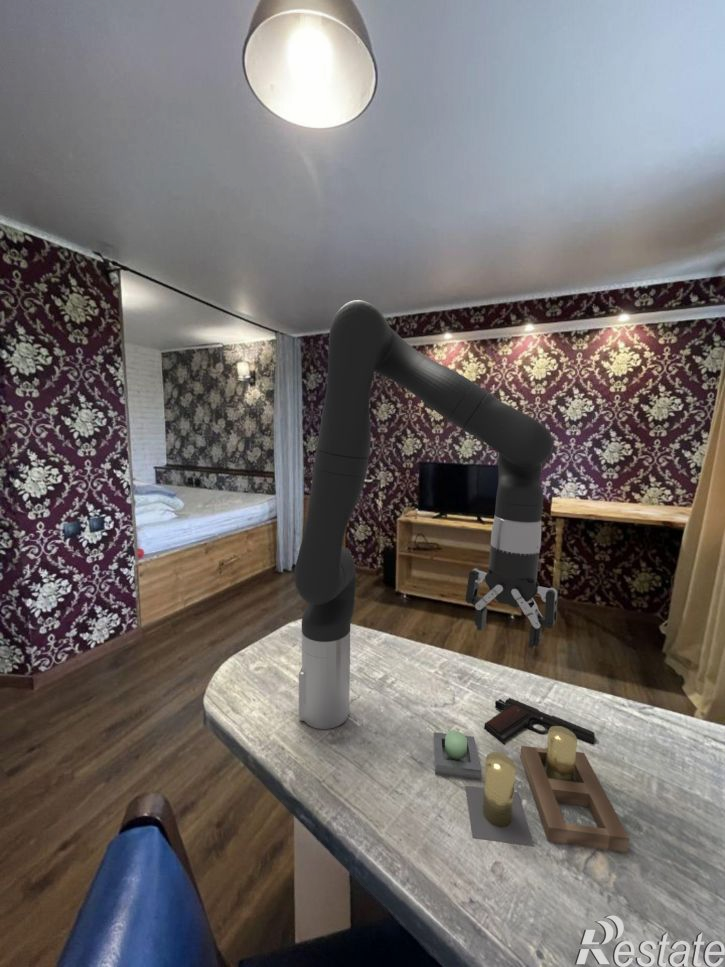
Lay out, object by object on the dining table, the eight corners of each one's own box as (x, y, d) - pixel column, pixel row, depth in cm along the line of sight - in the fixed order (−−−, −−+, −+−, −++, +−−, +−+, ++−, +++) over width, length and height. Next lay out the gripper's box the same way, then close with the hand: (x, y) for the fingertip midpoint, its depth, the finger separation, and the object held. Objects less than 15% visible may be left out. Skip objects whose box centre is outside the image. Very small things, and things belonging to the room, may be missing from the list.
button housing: (435, 776, 64) (435, 764, 63) (433, 742, 70) (433, 732, 70) (479, 781, 63) (480, 770, 62) (473, 746, 70) (474, 736, 69)
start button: (445, 757, 65) (446, 746, 64) (443, 740, 68) (444, 730, 68) (468, 760, 64) (468, 749, 64) (465, 743, 68) (465, 732, 68)
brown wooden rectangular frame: (547, 843, 53) (548, 827, 53) (520, 759, 67) (521, 745, 67) (627, 854, 52) (629, 838, 52) (582, 766, 66) (584, 752, 65)
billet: (485, 825, 55) (488, 774, 54) (480, 799, 59) (483, 750, 58) (514, 829, 55) (518, 777, 54) (508, 802, 59) (511, 754, 58)
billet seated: (549, 790, 61) (553, 743, 60) (541, 768, 65) (545, 724, 64) (576, 793, 61) (581, 746, 60) (567, 771, 65) (571, 727, 64)
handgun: (590, 778, 62) (595, 728, 72) (481, 727, 72) (499, 689, 81) (588, 790, 63) (593, 739, 73) (480, 738, 72) (498, 699, 82)
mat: (472, 840, 54) (472, 837, 54) (464, 787, 61) (465, 785, 61) (534, 849, 53) (534, 846, 53) (518, 794, 60) (518, 792, 60)
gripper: (464, 540, 66) (457, 631, 68) (557, 560, 57) (545, 663, 60) (481, 532, 72) (474, 616, 74) (567, 549, 63) (556, 643, 66)
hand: (506, 637), depth 67 cm, fingers open, 8 cm apart
